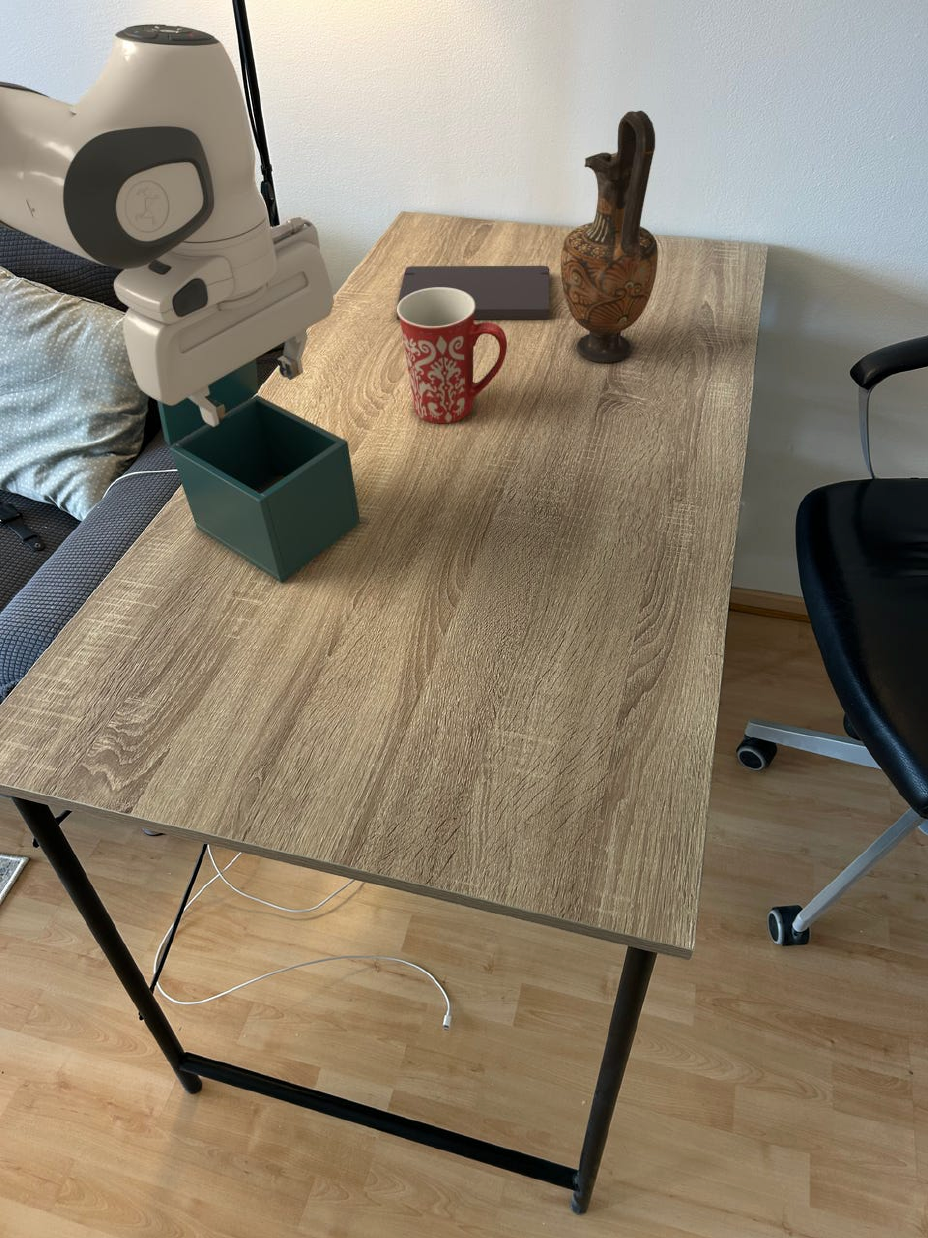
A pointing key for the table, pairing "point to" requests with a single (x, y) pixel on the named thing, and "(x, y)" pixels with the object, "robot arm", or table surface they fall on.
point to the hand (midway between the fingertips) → (255, 397)
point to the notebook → (488, 288)
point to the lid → (225, 390)
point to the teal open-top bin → (286, 512)
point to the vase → (613, 246)
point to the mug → (444, 351)
